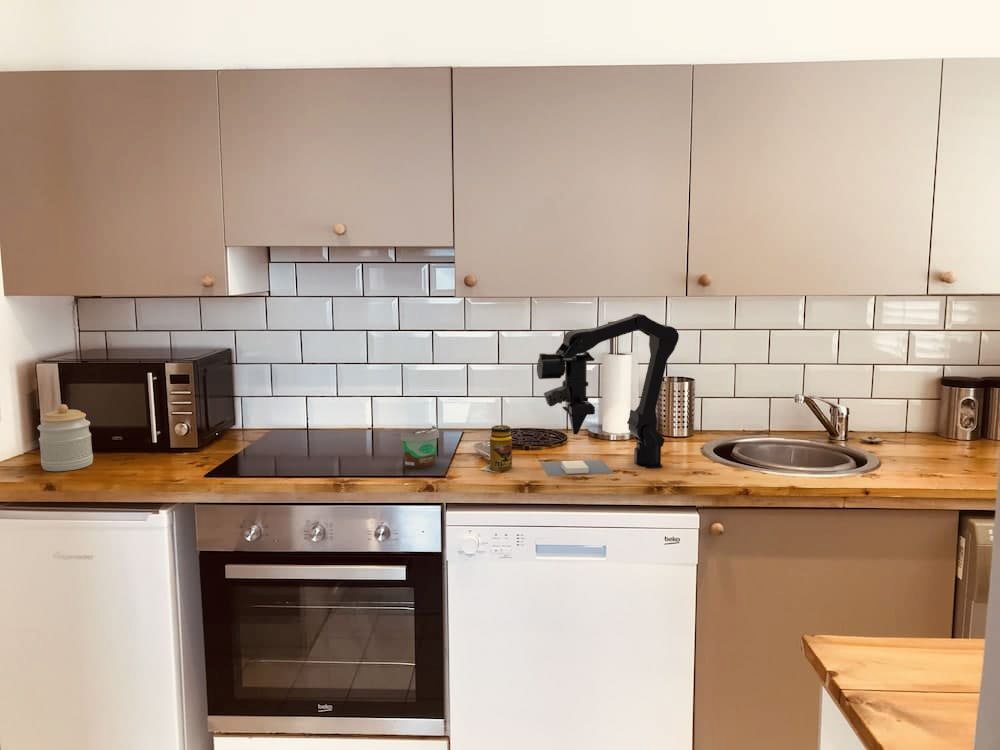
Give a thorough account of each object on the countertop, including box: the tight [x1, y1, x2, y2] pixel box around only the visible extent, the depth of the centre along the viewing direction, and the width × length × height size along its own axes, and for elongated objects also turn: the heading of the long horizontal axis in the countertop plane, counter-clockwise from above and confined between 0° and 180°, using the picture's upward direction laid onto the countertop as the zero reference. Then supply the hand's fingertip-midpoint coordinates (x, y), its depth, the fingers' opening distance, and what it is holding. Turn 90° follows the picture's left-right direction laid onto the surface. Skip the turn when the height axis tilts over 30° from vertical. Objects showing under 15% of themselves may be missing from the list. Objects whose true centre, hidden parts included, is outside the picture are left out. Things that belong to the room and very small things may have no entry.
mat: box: [539, 459, 615, 477], centre depth 218 cm, size 18×14×1 cm
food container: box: [400, 425, 440, 469], centre depth 222 cm, size 12×6×10 cm, turn 137°
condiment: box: [479, 424, 513, 474], centre depth 218 cm, size 7×8×12 cm
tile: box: [560, 460, 588, 474], centre depth 215 cm, size 6×2×7 cm
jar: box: [37, 403, 94, 472], centre depth 222 cm, size 13×13×18 cm
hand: (575, 434), depth 216 cm, fingers closed
